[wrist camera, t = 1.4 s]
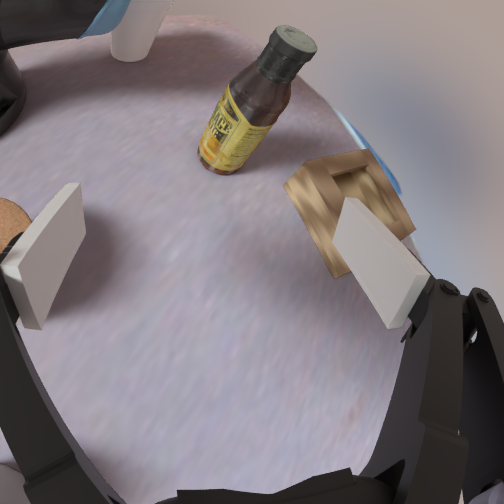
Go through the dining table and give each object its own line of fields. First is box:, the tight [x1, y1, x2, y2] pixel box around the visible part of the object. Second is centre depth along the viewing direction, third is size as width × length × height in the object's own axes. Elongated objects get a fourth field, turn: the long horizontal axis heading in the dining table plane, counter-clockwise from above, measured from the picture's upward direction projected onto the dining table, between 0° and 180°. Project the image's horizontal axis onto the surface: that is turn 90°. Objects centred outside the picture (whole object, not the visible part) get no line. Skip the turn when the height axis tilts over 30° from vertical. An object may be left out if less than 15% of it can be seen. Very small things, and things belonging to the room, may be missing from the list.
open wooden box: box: [283, 149, 416, 279], centre depth 41 cm, size 14×14×6 cm
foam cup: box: [111, 0, 174, 62], centre depth 33 cm, size 10×9×13 cm
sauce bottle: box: [198, 25, 317, 175], centre depth 29 cm, size 7×6×20 cm
